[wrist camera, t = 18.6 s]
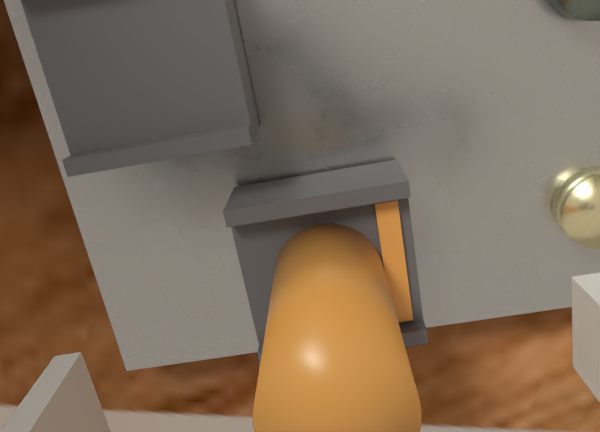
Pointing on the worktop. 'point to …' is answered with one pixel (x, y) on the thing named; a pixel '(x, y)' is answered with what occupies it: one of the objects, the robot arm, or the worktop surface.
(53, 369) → the robot arm
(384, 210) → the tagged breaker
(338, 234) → the cap
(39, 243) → the worktop surface
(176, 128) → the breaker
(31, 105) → the worktop surface
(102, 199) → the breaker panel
